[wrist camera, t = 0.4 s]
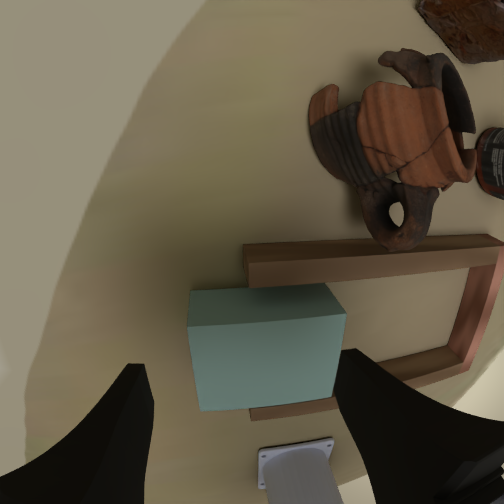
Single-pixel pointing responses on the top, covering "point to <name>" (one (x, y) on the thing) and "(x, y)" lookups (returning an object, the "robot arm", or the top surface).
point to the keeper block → (264, 345)
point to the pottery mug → (398, 143)
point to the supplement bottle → (491, 162)
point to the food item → (468, 27)
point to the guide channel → (385, 265)
